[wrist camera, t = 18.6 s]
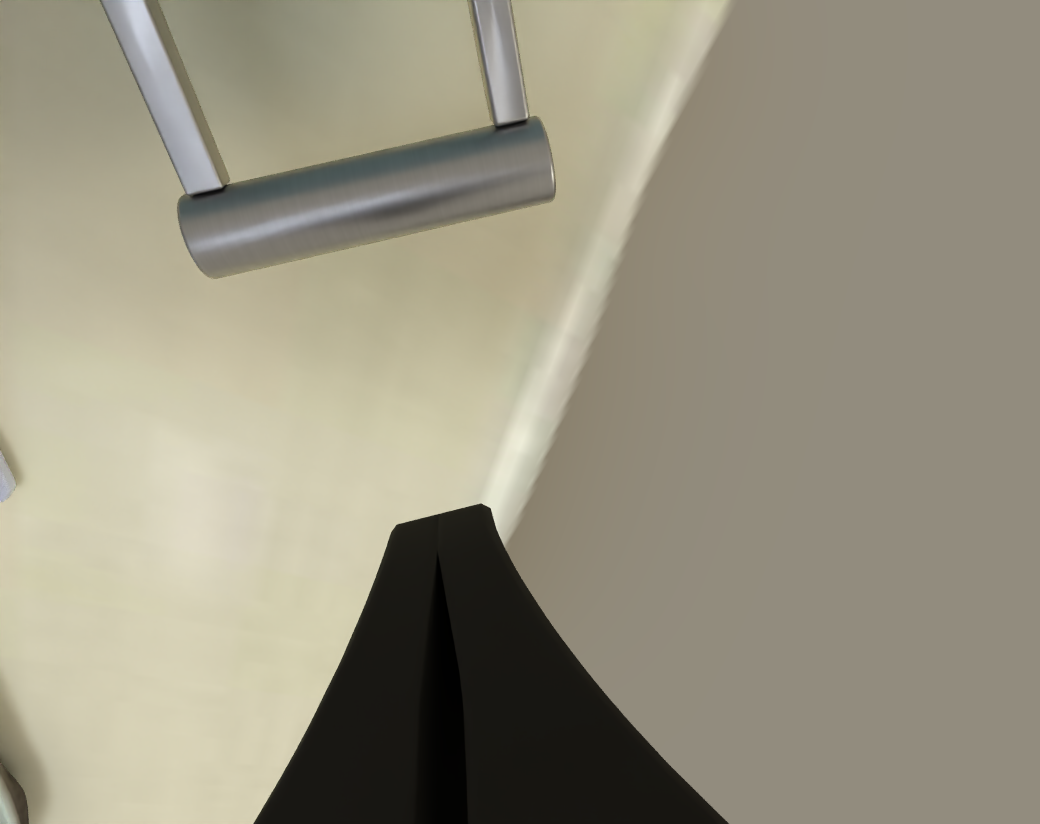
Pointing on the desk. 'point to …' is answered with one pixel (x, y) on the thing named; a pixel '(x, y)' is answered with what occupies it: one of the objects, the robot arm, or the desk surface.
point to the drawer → (339, 161)
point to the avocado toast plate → (12, 800)
